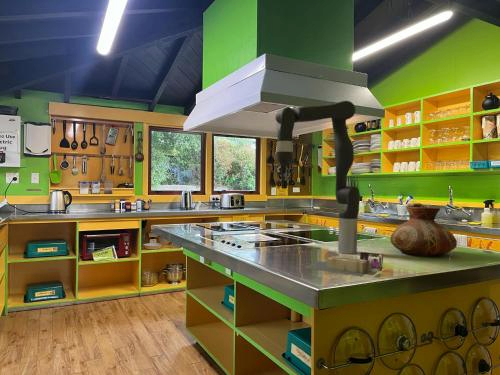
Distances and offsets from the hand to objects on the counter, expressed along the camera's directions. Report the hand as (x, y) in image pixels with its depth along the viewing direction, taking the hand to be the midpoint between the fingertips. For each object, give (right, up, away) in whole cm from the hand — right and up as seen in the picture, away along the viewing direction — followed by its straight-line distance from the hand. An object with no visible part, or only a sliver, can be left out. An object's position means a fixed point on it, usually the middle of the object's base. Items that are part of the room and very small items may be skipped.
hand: (284, 188), depth 175 cm
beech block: (+16, -30, -23) cm, 41 cm away
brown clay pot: (+70, -33, +14) cm, 79 cm away
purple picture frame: (+33, -33, -22) cm, 52 cm away
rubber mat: (+19, -32, -25) cm, 45 cm away
